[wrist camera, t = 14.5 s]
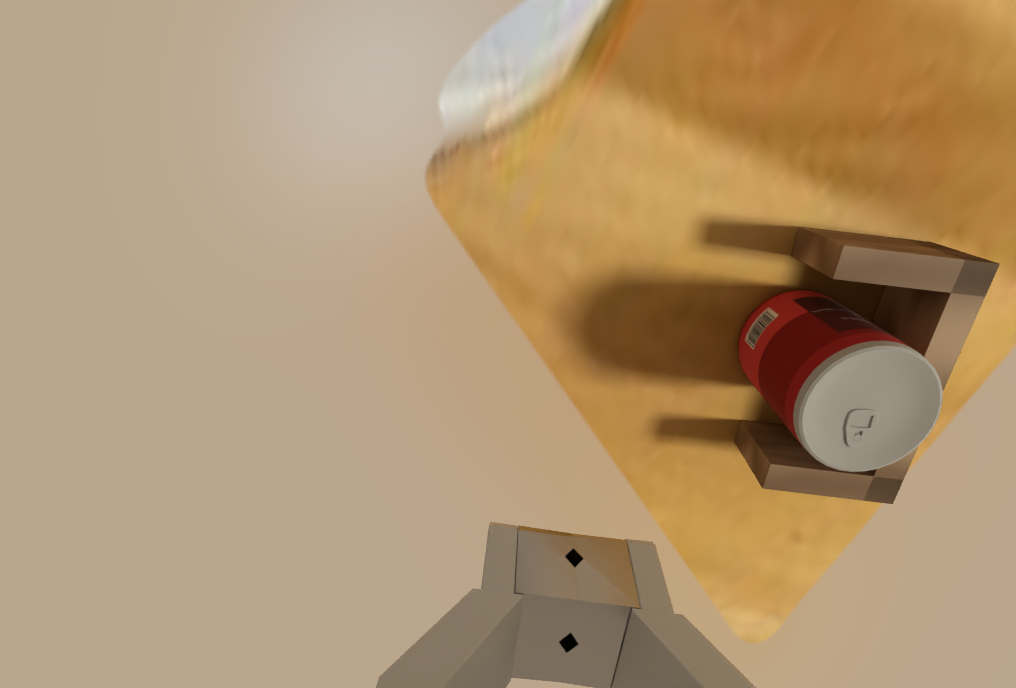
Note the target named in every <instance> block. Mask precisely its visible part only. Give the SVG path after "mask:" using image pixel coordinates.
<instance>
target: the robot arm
mask: <svg viewBox="0 0 1016 688" xmlns="http://www.w3.org/2000/svg"><path fill="white" fill-rule="evenodd" d="M511 678H522V679H532V680H543V681H553V682H562V683H569V684H575V685H581V686H588V687H594V688H756V687H755V686H754V685H753V684H752V683H751V682H750V681H749V680H748V679H747V678H746V677H745V676H744V675H743V674H742V673H741V672H740V671H739V670H738V669H737V668H736V667H735V666H734V665H733V664H731V662H730V661H729V660H728V659H727V658H726V657H724V656H723V654H722V653H721V652H720V651H719V650H718V649H717V648H716V647H715V646H713V644H712V643H711V642H710V641H708V639H707V638H705V636H704V635H702V633H701V632H700V631H699V630H698V629H697V628H695V627H694V626H693V625H692V624H691V623H690V622H689V621H688V620H687V619H686V618H685V617H684V616H683V615H681V614H674V611H673V607H672V604H671V600H670V597H669V593H668V590H667V586H666V582H665V579H664V575H663V571H662V568H661V564H660V561H659V557H658V553H657V550H656V546H655V545H654V544H653V543H652V542H648V541H639V540H629V539H625V540H622V539H613V538H604V537H596V536H588V535H579V534H571V533H565V532H558V531H552V530H545V529H538V528H531V527H525V526H518V528H517V526H515V525H508V524H501V523H494V522H490V525H489V530H488V538H487V547H486V554H485V562H484V570H483V578H482V586H481V589H472V590H471V591H470V592H469V593H468V594H467V595H466V596H465V597H463V598H462V599H461V600H460V601H459V602H458V603H457V604H456V605H455V606H454V607H453V608H452V609H451V610H450V611H449V612H448V613H447V614H445V615H444V616H443V617H442V618H441V619H440V620H439V621H438V622H437V623H436V624H435V625H434V626H433V627H432V628H431V629H430V630H428V631H427V632H426V633H425V634H424V635H423V636H422V637H421V638H420V639H419V640H418V641H417V642H416V643H415V644H414V645H413V646H412V647H410V648H409V649H408V650H407V651H406V652H405V653H404V654H403V655H402V656H401V657H400V658H399V659H398V660H397V661H396V662H395V663H394V664H392V665H391V666H390V667H389V668H388V669H387V670H386V671H385V672H384V673H383V674H382V675H381V676H380V677H379V680H378V683H377V686H376V688H506V687H507V685H508V684H509V682H510V681H511Z"/></svg>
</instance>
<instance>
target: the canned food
mask: <svg viewBox="0 0 1016 688" xmlns="http://www.w3.org/2000/svg"><path fill="white" fill-rule="evenodd" d="M738 349H739V359H740V363H741V366H742V369H743V371H744V372H745V374H746V376H747V377H748V378H749V380H750V381H751V382H752V384H753V385H754V386H755V387H756V389H757V390H758V391H759V392H760V394H761V395H762V396H763V397H764V399H765V400H766V401H767V403H768V404H769V405H770V406H771V408H772V409H773V410H774V411H775V413H776V414H777V415H778V417H779V418H780V419H781V420H782V422H783V423H784V424H785V425H786V427H787V428H788V429H789V430H790V432H791V433H792V434H793V436H794V437H795V438H796V439H797V440H798V441H799V442H800V444H801V445H802V446H803V447H804V448H805V449H806V450H807V451H808V452H809V453H810V454H811V455H812V456H813V457H814V458H815V459H816V460H818V461H819V462H821V463H823V464H824V465H826V466H828V467H831V468H834V469H837V470H842V471H849V472H859V471H869V470H874V469H878V468H881V467H884V466H887V465H890V464H892V463H894V462H896V461H898V460H900V459H901V458H903V457H905V456H906V455H908V454H909V453H910V452H912V451H913V450H914V449H916V448H917V447H918V446H919V445H920V444H921V443H922V442H923V441H924V440H925V438H926V437H927V436H928V434H929V433H930V431H931V430H932V429H933V427H934V425H935V423H936V421H937V419H938V417H939V414H940V410H941V406H942V395H943V390H942V385H941V381H940V378H939V376H938V374H937V372H936V370H935V368H934V367H933V366H932V365H931V364H930V362H929V361H928V360H927V359H926V358H924V357H923V356H922V355H921V354H920V353H918V352H917V351H915V350H914V349H912V348H911V347H909V346H908V345H906V344H905V343H903V342H902V341H900V340H899V339H897V338H896V337H894V336H892V335H891V334H889V333H887V332H886V331H884V330H882V329H881V328H879V327H877V326H876V325H874V324H873V323H871V322H869V321H868V320H866V319H864V318H863V317H861V316H859V315H858V314H856V313H854V312H853V311H851V310H850V309H848V308H846V307H845V306H843V305H841V304H840V303H838V302H836V301H835V300H833V299H831V298H830V297H828V296H826V295H824V294H821V293H818V292H814V291H807V290H799V291H788V292H784V293H780V294H777V295H775V296H773V297H771V298H769V299H767V300H766V301H764V302H763V303H761V304H760V305H759V306H758V307H757V308H756V309H755V310H754V311H753V312H752V313H751V314H750V316H749V317H748V318H747V320H746V322H745V323H744V325H743V327H742V330H741V333H740V337H739V345H738Z"/></svg>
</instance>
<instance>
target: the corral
mask: <svg viewBox="0 0 1016 688" xmlns="http://www.w3.org/2000/svg"><path fill="white" fill-rule="evenodd" d="M791 256H792V257H794V258H796V259H798V260H799V261H801V262H803V263H805V264H807V265H808V266H810V267H812V268H814V269H816V270H818V271H819V272H821V273H823V274H825V275H827V276H828V277H830V278H832V279H838V280H846V281H855V282H863V283H871V284H880V285H886V286H885V288H884V291H883V294H882V296H881V299H880V302H879V304H878V307H877V310H876V312H875V315H874V318H873V320H872V323H873V324H874V325H876V326H877V327H879V328H881V329H882V330H884V331H886V332H887V333H889V334H891V335H892V336H894V337H896V338H897V339H899V340H900V341H902V342H903V343H905V344H906V345H908V346H909V347H911V348H912V349H914V350H915V351H917V352H918V353H920V354H921V355H922V356H923V357H924V358H926V359H927V360H928V361H929V362H930V364H931V365H932V366H933V367H934V368H935V370H936V372H937V374H938V376H939V378H940V381H941V385H942V390H944V388H945V385H946V383H947V381H948V379H949V377H950V374H951V372H952V370H953V368H954V365H955V363H956V361H957V359H958V356H959V354H960V352H961V350H962V347H963V345H964V343H965V341H966V338H967V336H968V334H969V332H970V329H971V327H972V325H973V323H974V320H975V318H976V316H977V314H978V312H979V309H980V307H981V305H982V303H983V300H984V298H985V296H986V294H987V291H988V289H989V287H990V285H991V282H992V280H993V278H994V276H995V273H996V271H997V269H998V267H999V263H995V262H992V261H989V260H986V259H983V258H980V257H977V256H973V255H970V254H967V253H964V252H961V251H958V250H955V249H951V248H948V247H945V246H942V245H939V244H936V243H932V242H924V241H916V240H907V239H899V238H890V237H882V236H873V235H865V234H856V233H848V232H839V231H831V230H822V229H814V228H805V227H799V230H798V234H797V237H796V240H795V244H794V247H793V250H792V254H791ZM735 444H736V445H737V447H738V448H739V450H740V452H741V453H742V455H743V457H744V458H745V460H746V462H747V463H748V465H749V467H750V468H751V470H752V472H753V473H754V475H755V477H756V478H757V480H758V482H759V483H760V485H761V487H762V488H764V489H772V490H780V491H788V492H797V493H805V494H813V495H822V496H830V497H838V498H846V499H855V500H863V501H871V502H880V503H888V504H893V502H894V500H895V497H896V495H897V493H898V491H899V489H900V486H901V484H902V482H903V480H904V477H905V475H906V473H907V471H908V468H909V466H910V464H911V462H912V459H913V457H914V455H915V453H916V450H917V448H918V447H917V448H916V449H914V450H913V451H912V452H910V453H909V454H908V455H906V456H905V457H903V458H901V459H900V460H898V461H896V462H894V463H892V464H890V465H887V466H884V467H881V468H878V469H874V470H869V471H859V472H849V471H842V470H837V469H834V468H831V467H828V466H826V465H824V464H823V463H821V462H819V461H818V460H816V459H815V458H814V457H813V456H812V455H811V454H810V453H809V452H808V451H807V450H806V449H805V448H804V447H803V446H802V445H801V444H800V442H799V441H798V440H797V439H796V438H795V437H794V436H793V434H792V433H791V432H790V430H789V429H788V428H787V427H786V425H779V424H771V423H762V422H754V421H746V420H741V423H740V426H739V429H738V432H737V436H736V439H735Z"/></svg>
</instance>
